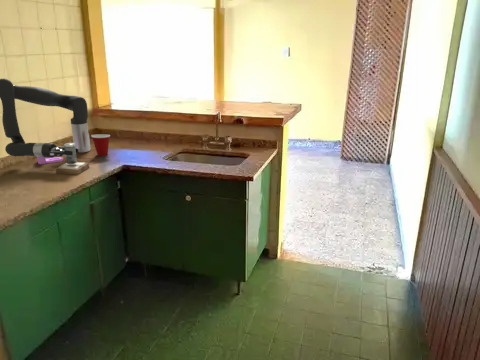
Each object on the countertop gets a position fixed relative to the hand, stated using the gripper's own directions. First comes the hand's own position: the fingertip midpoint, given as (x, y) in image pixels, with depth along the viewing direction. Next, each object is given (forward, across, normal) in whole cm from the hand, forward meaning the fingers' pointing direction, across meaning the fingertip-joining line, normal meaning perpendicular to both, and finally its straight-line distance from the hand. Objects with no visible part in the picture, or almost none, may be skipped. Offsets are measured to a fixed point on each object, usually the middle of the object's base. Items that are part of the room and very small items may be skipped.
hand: (75, 151), depth 215 cm
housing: (-3, 0, +6) cm, 7 cm away
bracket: (-23, +13, +11) cm, 28 cm away
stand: (-2, 0, +10) cm, 11 cm away
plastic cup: (0, +31, +10) cm, 33 cm away
